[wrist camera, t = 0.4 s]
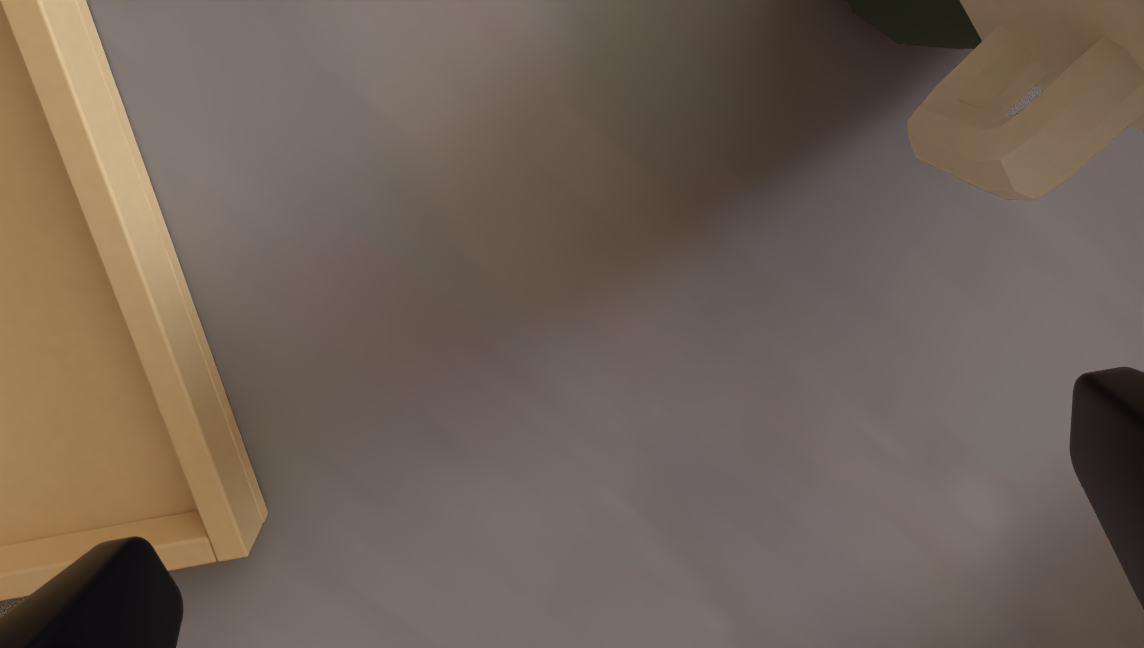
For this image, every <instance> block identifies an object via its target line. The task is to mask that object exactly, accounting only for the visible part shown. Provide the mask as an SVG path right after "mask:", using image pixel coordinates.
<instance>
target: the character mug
mask: <svg viewBox="0 0 1144 648" xmlns="http://www.w3.org/2000/svg"><path fill="white" fill-rule="evenodd" d="M847 1H848V3H849V5H850V7H851V9H852V11H853V12H855V13H856V14H857V15H859V16H860V17H862V18H863V19H864V20H866V21H867V22H869V23H870V24H871V25H873V26H874V27H876V28H877V29H878V30H880V31H881V32H883V33H884V34H885V35H887V36H888V37H889V38H891V39H892V40H894V41H895V42H896V43H898V44H906V45H919V46H931V47H943V48H956V49H974V50H973V51H972V52H971V53H970V54H969V55H968V56H967V57H966V58H965V59H964V60H963V61H962V62H960V63H959V64H958V65H957V66H956V67H955V68H954V69H953V70H952V71H951V72H950V73H949V74H948V75H947V76H946V77H945V78H944V79H943V80H942V81H941V82H940V83H939V84H938V85H937V86H936V87H935V88H934V89H933V90H932V91H931V92H930V94H929V95H928V96H927V97H926V98H925V99H924V101H923V102H922V103H921V104H920V106H919V107H918V108H917V109H916V111H915V112H914V113H913V114H912V116H911V117H910V118H909V120H908V121H907V122H906V124H907V129H908V133H909V138H910V142H911V146H912V149H913V151H914V154H915V157H916V158H917V159H919V160H921V161H924V162H926V163H928V164H930V165H932V166H934V167H936V168H938V169H940V170H942V171H944V172H946V173H949V174H951V175H953V176H955V177H957V178H959V179H961V180H963V181H965V182H967V183H970V184H972V185H974V186H976V187H978V188H980V189H982V190H984V191H987V192H989V193H992V194H994V195H997V196H1000V197H1002V198H1005V199H1007V200H1036V199H1038V198H1040V197H1041V196H1043V195H1044V194H1046V193H1047V192H1049V191H1050V190H1052V189H1053V188H1055V187H1057V186H1058V185H1060V184H1061V183H1063V182H1064V181H1066V180H1067V179H1069V178H1070V177H1071V176H1072V175H1073V174H1075V173H1076V172H1077V171H1078V170H1079V169H1080V168H1081V167H1082V166H1083V165H1085V164H1086V163H1087V162H1088V161H1089V160H1090V159H1091V158H1092V157H1094V156H1095V155H1096V154H1097V153H1098V152H1099V151H1100V150H1101V149H1102V148H1104V147H1105V146H1106V145H1107V144H1108V143H1109V142H1110V141H1111V140H1112V139H1114V138H1115V137H1116V136H1117V135H1118V134H1119V133H1120V132H1121V131H1122V130H1124V129H1125V128H1126V127H1127V126H1132V127H1137V128H1140V129H1143V130H1144V0H847ZM1035 85H1036V86H1038V87H1039V88H1041V89H1042V90H1043V91H1042V92H1041V93H1040V94H1039V95H1038V96H1037V97H1036V98H1035V99H1034V100H1033V101H1032V102H1031V103H1029V104H1028V105H1027V106H1026V107H1025V108H1023V109H1022V110H1021V111H1019V112H1018V113H1016V114H1015V115H1007V116H1004V114H1005V113H1006V112H1007V111H1008V110H1009V109H1010V108H1011V107H1013V106H1014V105H1015V104H1016V103H1017V102H1018V101H1019V100H1020V99H1021V98H1022V97H1023V96H1024V95H1025V94H1026V93H1028V92H1029V91H1030V90H1031V89H1032V88H1033V87H1034V86H1035Z"/></svg>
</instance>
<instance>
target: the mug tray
mask: <svg viewBox="0 0 1144 648" xmlns="http://www.w3.org/2000/svg"><path fill="white" fill-rule="evenodd" d="M267 515H268V511H267V508H266V505H265V502H264V500H263V497H262V494H261V491H260V488H259V486H258V483H257V480H256V477H255V474H254V472H253V469H252V466H251V463H250V460H249V457H248V455H247V452H246V449H245V446H244V443H243V441H242V438H241V435H240V432H239V429H238V427H237V424H236V421H235V418H234V415H233V413H232V410H231V407H230V404H229V401H228V398H227V396H226V393H225V390H224V387H223V384H222V382H221V379H220V376H219V373H218V370H217V368H216V365H215V362H214V359H213V356H212V354H211V351H210V348H209V345H208V342H207V339H206V337H205V334H204V331H203V328H202V325H201V323H200V320H199V317H198V314H197V311H196V309H195V306H194V303H193V300H192V297H191V295H190V292H189V289H188V286H187V283H186V280H185V278H184V275H183V272H182V269H181V266H180V264H179V261H178V258H177V255H176V252H175V250H174V247H173V244H172V241H171V238H170V236H169V233H168V230H167V227H166V224H165V221H164V219H163V216H162V213H161V210H160V207H159V205H158V202H157V199H156V196H155V193H154V191H153V188H152V185H151V182H150V179H149V176H148V174H147V171H146V168H145V165H144V162H143V160H142V157H141V154H140V151H139V148H138V146H137V143H136V140H135V137H134V134H133V132H132V129H131V126H130V123H129V120H128V117H127V115H126V112H125V109H124V106H123V103H122V101H121V98H120V95H119V92H118V89H117V87H116V84H115V81H114V78H113V75H112V73H111V70H110V67H109V64H108V61H107V58H106V56H105V53H104V50H103V47H102V44H101V42H100V39H99V36H98V33H97V30H96V28H95V25H94V22H93V19H92V16H91V14H90V11H89V8H88V5H87V2H86V0H0V601H3V600H8V599H14V598H20V597H25V596H29V595H31V594H32V593H33V592H35V591H36V590H37V589H39V588H40V587H41V586H43V585H44V584H45V583H47V582H48V581H49V580H51V579H52V578H53V577H55V576H56V575H57V574H59V573H60V572H61V571H63V570H64V569H65V568H67V567H68V566H69V565H71V564H72V563H73V562H75V561H76V560H77V559H79V558H80V557H81V556H82V555H84V554H85V553H86V552H88V551H89V550H90V549H92V548H93V547H94V546H96V545H98V544H100V543H102V542H105V541H109V540H115V539H121V538H127V537H133V536H138V537H142V538H144V539H146V540H147V541H149V542H150V544H151V545H152V546H153V548H154V549H155V551H156V553H157V554H158V556H159V557H160V559H161V561H162V562H163V564H164V566H165V567H166V569H167V570H168V571H171V570H176V569H182V568H187V567H193V566H199V565H204V564H210V563H214V562H216V561H217V560H218V561H219V562H222V561H228V560H233V559H239V558H245V557H247V556H248V555H249V553H250V551H251V548H252V546H253V544H254V542H255V540H256V538H257V536H258V533H259V531H260V529H261V527H262V524H263V523H264V522H265V519H266V517H267Z"/></svg>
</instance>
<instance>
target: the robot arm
mask: <svg viewBox="0 0 1144 648" xmlns="http://www.w3.org/2000/svg"><path fill="white" fill-rule="evenodd" d="M1070 456H1071V460H1072V464H1073V467H1074V470H1075V473H1076V475H1077V477H1078V479H1079V481H1080V483H1081V485H1082V487H1083V489H1084V491H1085V493H1086V495H1087V497H1088V499H1089V501H1090V503H1091V505H1092V507H1093V509H1094V511H1095V513H1096V515H1097V517H1098V519H1099V521H1100V523H1101V525H1102V527H1103V529H1104V531H1105V533H1106V535H1107V537H1108V539H1109V541H1110V543H1111V545H1112V547H1113V549H1114V551H1115V553H1116V556H1117V558H1118V560H1119V562H1120V564H1121V566H1122V568H1123V570H1124V572H1125V574H1126V576H1127V578H1128V580H1129V582H1130V584H1131V586H1132V588H1133V590H1134V592H1135V594H1136V596H1137V598H1138V600H1139V601H1140V603H1141V605H1142V607H1143V609H1144V372H1141V371H1139V370H1136V369H1133V368H1130V367H1118V368H1112V369H1106V370H1101V371H1095V372H1089V373H1084V374H1082V375H1081V376H1080V377H1079V378H1077V380H1076V382H1075V384H1074V389H1073V400H1072V416H1071V432H1070ZM182 618H183V600H182V596H181V593H180V590H179V588H178V587H177V585H176V583H175V582H174V580H173V579H172V577H171V575H170V574H169V572H168V570H167V569H166V567H165V566H164V564H163V562H162V561H161V559H160V557H159V556H158V554H157V553H156V551H155V549H154V548H153V546H152V545H151V544H150V542H149V541H147V540H146V539H144V538H142V537H138V536H133V537H127V538H121V539H115V540H109V541H105V542H102V543H100V544H98V545H96V546H94V547H93V548H92V549H90V550H89V551H88V552H86V553H85V554H84V555H82V556H81V557H80V558H79V559H77V560H76V561H75V562H73V563H72V564H71V565H69V566H68V567H67V568H65V569H64V570H63V571H61V572H60V573H59V574H57V575H56V576H55V577H53V578H52V579H51V580H49V581H48V582H47V583H45V584H44V585H43V586H41V587H40V588H39V589H37V590H36V591H35V592H33V593H32V594H31V595H29V596H28V597H27V598H25V599H24V600H23V601H21V602H20V603H19V604H17V605H16V606H15V607H13V608H12V609H11V610H9V611H8V612H7V613H5V614H4V615H3V616H1V617H0V648H176V645H177V640H178V636H179V631H180V627H181V622H182Z"/></svg>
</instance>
